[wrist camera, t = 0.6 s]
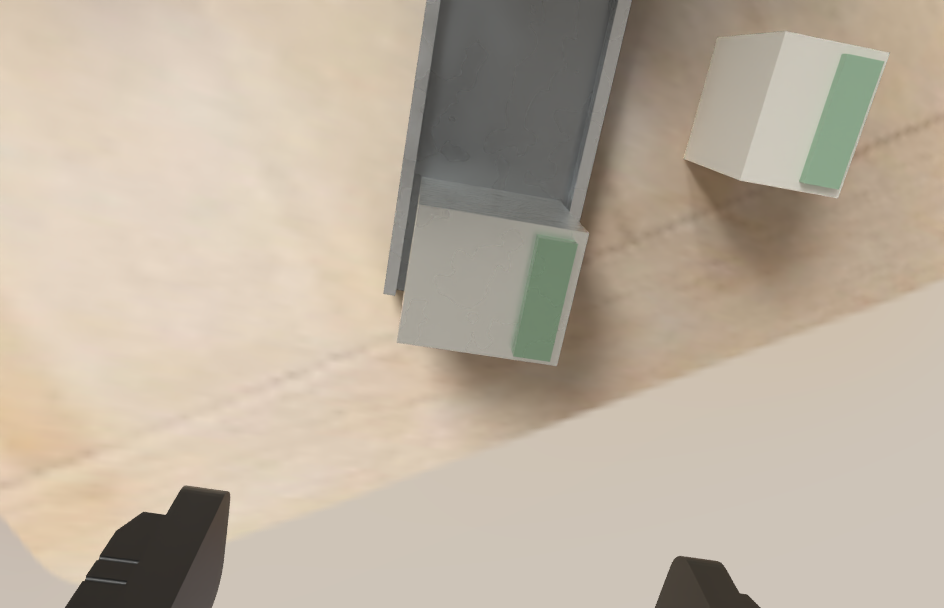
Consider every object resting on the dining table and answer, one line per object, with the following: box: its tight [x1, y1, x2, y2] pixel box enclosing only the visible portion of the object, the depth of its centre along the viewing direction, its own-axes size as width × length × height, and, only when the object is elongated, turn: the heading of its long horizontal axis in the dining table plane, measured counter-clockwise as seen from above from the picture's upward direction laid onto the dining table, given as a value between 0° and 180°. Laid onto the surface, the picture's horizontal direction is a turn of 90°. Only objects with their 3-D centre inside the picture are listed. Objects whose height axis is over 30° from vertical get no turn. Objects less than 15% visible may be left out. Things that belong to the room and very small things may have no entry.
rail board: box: [384, 0, 632, 366], centre depth 29 cm, size 24×9×9 cm, turn 170°
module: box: [684, 31, 890, 198], centre depth 31 cm, size 6×4×7 cm
